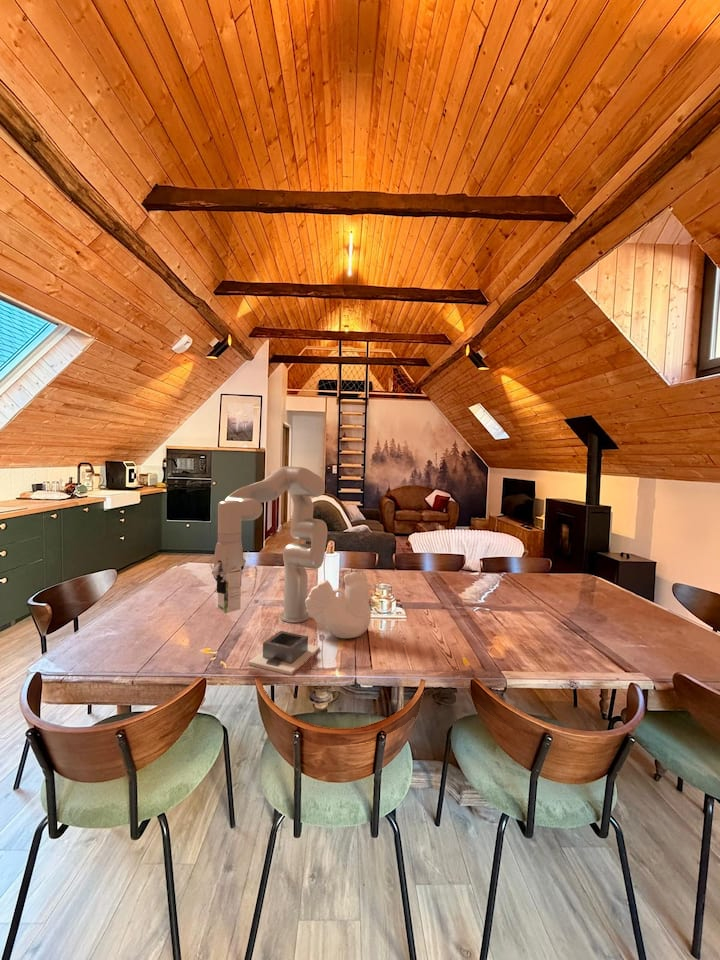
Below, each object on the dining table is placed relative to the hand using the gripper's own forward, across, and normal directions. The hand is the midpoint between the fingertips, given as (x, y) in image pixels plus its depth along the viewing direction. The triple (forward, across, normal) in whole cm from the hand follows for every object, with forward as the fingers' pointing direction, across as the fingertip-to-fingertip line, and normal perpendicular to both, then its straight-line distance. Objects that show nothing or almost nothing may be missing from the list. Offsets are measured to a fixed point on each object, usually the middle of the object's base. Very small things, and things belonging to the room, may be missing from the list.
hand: (229, 589), depth 147 cm
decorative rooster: (+24, -33, +26) cm, 48 cm away
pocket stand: (+23, -7, +18) cm, 30 cm away
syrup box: (+7, 0, 0) cm, 7 cm away
